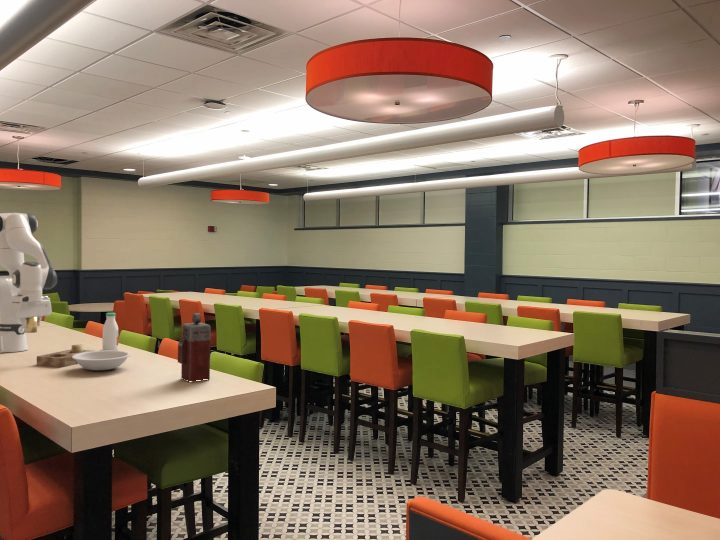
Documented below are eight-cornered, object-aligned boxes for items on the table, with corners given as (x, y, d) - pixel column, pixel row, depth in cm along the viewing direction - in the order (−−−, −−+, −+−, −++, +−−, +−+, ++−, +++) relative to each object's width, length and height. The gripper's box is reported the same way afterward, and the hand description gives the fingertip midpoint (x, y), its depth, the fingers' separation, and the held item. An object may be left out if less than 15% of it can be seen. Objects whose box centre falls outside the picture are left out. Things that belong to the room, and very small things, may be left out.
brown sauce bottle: (175, 379, 236) (176, 312, 235) (201, 376, 243) (202, 311, 243) (184, 383, 229) (185, 314, 229) (209, 379, 236) (211, 313, 236)
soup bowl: (59, 370, 247) (59, 356, 247) (106, 362, 268) (107, 348, 268) (96, 377, 236) (96, 362, 236) (142, 368, 257) (142, 353, 257)
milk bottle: (114, 351, 296) (114, 313, 296) (99, 351, 297) (100, 313, 296) (120, 349, 304) (121, 312, 304) (106, 348, 304) (107, 312, 304)
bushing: (22, 332, 258) (22, 317, 258) (31, 331, 263) (31, 315, 263) (30, 333, 256) (30, 317, 256) (39, 331, 261) (39, 316, 261)
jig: (36, 365, 258) (36, 349, 258) (73, 357, 279) (73, 342, 279) (61, 367, 254) (62, 351, 254) (96, 359, 275) (96, 344, 275)
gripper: (45, 295, 270) (44, 324, 270) (6, 298, 251) (6, 329, 251) (55, 296, 268) (54, 325, 268) (17, 298, 249) (16, 330, 249)
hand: (30, 327), depth 260 cm, fingers closed on bushing, 5 cm apart
